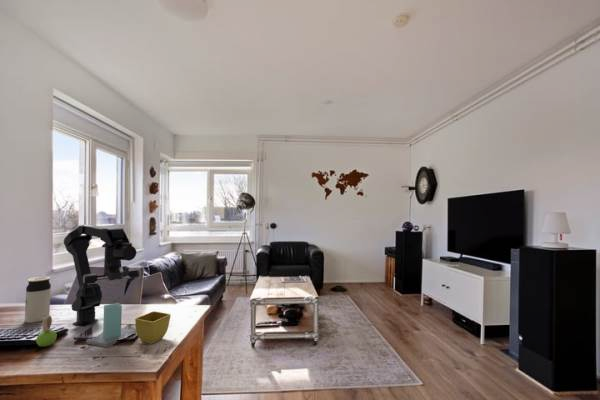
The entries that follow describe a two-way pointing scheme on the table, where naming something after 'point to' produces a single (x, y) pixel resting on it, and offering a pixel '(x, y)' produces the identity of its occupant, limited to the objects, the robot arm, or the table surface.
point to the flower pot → (152, 326)
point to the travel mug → (37, 299)
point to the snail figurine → (46, 333)
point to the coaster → (106, 342)
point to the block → (112, 320)
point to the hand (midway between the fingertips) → (111, 297)
